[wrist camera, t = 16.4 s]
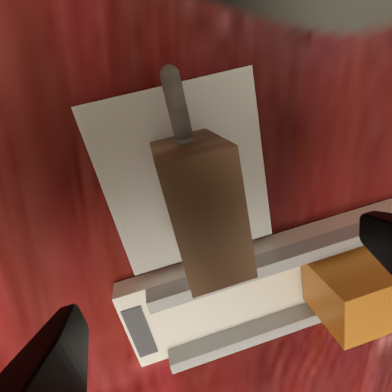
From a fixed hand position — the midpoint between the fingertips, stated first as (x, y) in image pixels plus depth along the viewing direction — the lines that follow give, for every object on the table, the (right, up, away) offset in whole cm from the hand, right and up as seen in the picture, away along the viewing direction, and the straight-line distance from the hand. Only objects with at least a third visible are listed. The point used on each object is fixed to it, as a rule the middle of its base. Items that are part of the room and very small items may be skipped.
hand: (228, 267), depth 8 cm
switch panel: (+4, -3, +11) cm, 12 cm away
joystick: (-2, +4, +6) cm, 8 cm away
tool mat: (-2, +3, +7) cm, 8 cm away
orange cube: (+8, -3, +10) cm, 13 cm away
